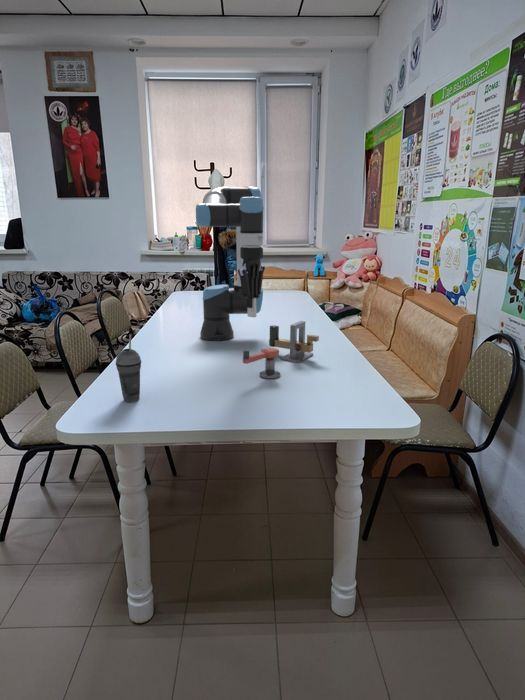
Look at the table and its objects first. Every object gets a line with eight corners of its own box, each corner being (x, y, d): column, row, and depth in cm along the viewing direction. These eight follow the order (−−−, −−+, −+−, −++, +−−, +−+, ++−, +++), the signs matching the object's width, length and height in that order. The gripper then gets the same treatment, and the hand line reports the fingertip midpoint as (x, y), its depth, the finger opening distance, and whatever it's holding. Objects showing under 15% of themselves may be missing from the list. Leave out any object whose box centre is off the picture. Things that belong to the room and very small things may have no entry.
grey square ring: (280, 359, 171) (281, 324, 168) (295, 352, 181) (296, 319, 177) (299, 362, 167) (300, 327, 164) (313, 355, 177) (314, 321, 173)
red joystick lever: (250, 365, 141) (250, 353, 140) (237, 361, 145) (237, 350, 144) (282, 355, 152) (282, 344, 151) (269, 352, 156) (269, 341, 155)
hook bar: (267, 345, 178) (267, 326, 176) (272, 343, 181) (272, 325, 179) (315, 353, 168) (315, 333, 165) (319, 351, 171) (319, 331, 168)
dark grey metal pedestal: (255, 376, 153) (255, 357, 151) (266, 371, 158) (266, 352, 156) (273, 380, 149) (273, 360, 147) (283, 374, 155) (284, 355, 153)
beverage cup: (121, 395, 136) (116, 331, 131) (146, 394, 137) (141, 331, 131) (116, 404, 129) (109, 337, 124) (142, 403, 130) (136, 337, 124)
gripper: (249, 248, 140) (250, 321, 147) (271, 245, 150) (271, 314, 157) (230, 247, 144) (231, 318, 151) (253, 244, 154) (253, 311, 161)
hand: (252, 316), depth 154 cm, fingers closed
